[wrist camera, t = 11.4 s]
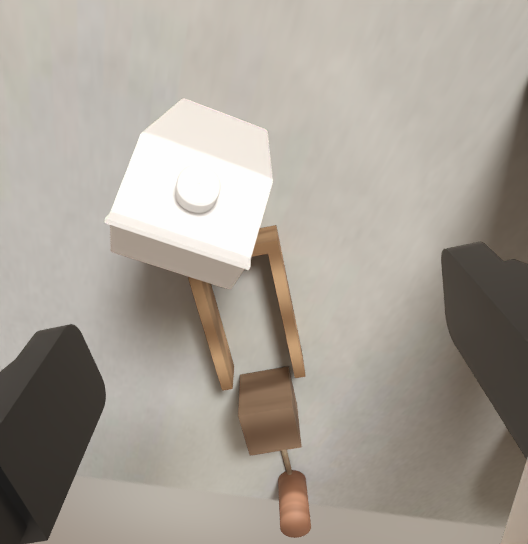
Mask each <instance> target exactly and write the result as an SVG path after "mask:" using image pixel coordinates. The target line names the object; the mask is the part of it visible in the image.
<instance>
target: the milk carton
mask: <svg viewBox="0 0 528 544" xmlns="http://www.w3.org/2000/svg"><path fill="white" fill-rule="evenodd" d="M272 183H273V177H272V167H271V158H270V149H269V139H268V131H267V130H266V129H264V128H261V127H259V126H256V125H254V124H251V123H248V122H246V121H243V120H241V119H238V118H235V117H233V116H230V115H227V114H225V113H222V112H220V111H217V110H214V109H212V108H209V107H206V106H204V105H201V104H199V103H196V102H193V101H191V100H188V99H184V98H183V99H181V100H180V101H179V102H178V103H176V104H175V105H174V106H173V107H172V108H170V109H169V110H168V111H167V112H166V113H164V114H163V115H162V116H161V117H160V118H158V119H157V120H156V121H155V122H154V123H152V124H151V125H150V126H149V127H148V128H147V129H145V130H144V131H143V132H142V133H141V135H140V137H139V140H138V142H137V145H136V147H135V150H134V153H133V155H132V158H131V160H130V163H129V166H128V168H127V171H126V173H125V176H124V178H123V181H122V184H121V186H120V189H119V191H118V194H117V197H116V199H115V202H114V204H113V207H112V209H111V212H110V213H109V214H108V216H107V217H106V218H105V220H104V222H105V223H106V224H110V236H111V252H114V253H117V254H120V255H123V256H126V257H129V258H132V259H135V260H138V261H141V262H144V263H148V264H151V265H154V266H157V267H160V268H163V269H166V270H169V271H173V272H176V273H179V274H182V275H185V276H188V277H191V278H194V279H198V280H201V281H204V282H207V283H210V284H213V285H216V286H220V287H223V288H226V289H230V290H231V289H232V287H233V286H234V284H235V283H236V281H237V280H238V278H239V276H240V275H241V273H242V272H243V270H244V269H246V270H249V269H250V267H251V256H252V252H253V249H254V245H255V242H256V239H257V235H258V232H259V228H260V225H261V221H262V218H263V214H264V211H265V207H266V204H267V200H268V197H269V193H270V190H271V186H272Z"/></svg>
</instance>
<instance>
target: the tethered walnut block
mask: <svg viewBox="0 0 528 544" xmlns="http://www.w3.org/2000/svg"><path fill="white" fill-rule="evenodd" d="M238 417H239V421H240V424H241V427H242V431H243V434H244V437H245V441H246V444H247V448H248V451H249V454H250V455H256V454H263V453H269V452H275V451H281V452H282V455H283V459H284V463H285V467H286V472H284V473H282V474H281V475H280V476H279V478H278V488H279V509H280V529H281V532H282V533H283V534H284V535H286V536H288V537H294V538H295V537H301V536H304V535H306V534H307V533H308V532H309V531H310V529H311V523H310V514H309V504H308V495H307V486H306V478H305V476H304V475H303V474H302V473H301V472H299V471H294V470H292V469H291V465H290V461H289V457H288V453H287V449H294V448H300V447H301V438H300V428H299V419H298V410H297V402H296V398H295V393H294V389H293V385H292V380H291V376H290V371H289V367H282V368H276V369H270V370H265V371H259V372H253V373H247V374H242V375H240V389H239V409H238Z"/></svg>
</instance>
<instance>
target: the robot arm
mask: <svg viewBox="0 0 528 544" xmlns="http://www.w3.org/2000/svg"><path fill="white" fill-rule="evenodd" d="M441 263H442V276H443V290H444V303H445V315H446V321H447V326H448V329H449V333H450V335H451V338H452V340H453V342H454V344H455V346H456V347H457V349H458V350H459V352H460V354H461V355H462V357H463V358H464V360H465V362H466V363H467V365H468V366H469V368H470V370H471V371H472V373H473V374H474V376H475V378H476V379H477V381H478V382H479V384H480V386H481V387H482V389H483V390H484V392H485V394H486V395H487V397H488V398H489V400H490V402H491V403H492V405H493V406H494V408H495V410H496V411H497V413H498V414H499V416H500V418H501V419H502V421H503V422H504V424H505V426H506V427H507V429H508V430H509V432H510V434H511V435H512V437H513V438H514V440H515V442H516V443H517V445H518V446H519V448H520V450H521V451H522V453H523V454H524V456H525V458H526V459H527V461H526V464H525V467H524V471H523V474H522V477H521V480H520V483H519V486H518V489H517V493H516V496H515V499H514V502H513V505H512V508H511V511H510V515H509V518H508V521H507V524H506V527H505V530H504V534H503V537H502V540H501V543H500V544H528V264H526V263H523V262H520V261H518V260H515V259H512V260H507V261H503V260H502V259H501V258H499V257H498V256H497V255H496V254H495V253H494V252H493V251H492V250H491V249H490V248H489V247H488V246H487V245H486V244H484V243H483V242H476V243H471V244H466V245H461V246H456V247H451V248H447V249H444V250H443V251H442V256H441ZM105 400H106V392H105V385H104V381H103V379H102V376H101V374H100V372H99V370H98V368H97V366H96V363H95V361H94V359H93V357H92V355H91V353H90V350H89V348H88V346H87V344H86V342H85V340H84V338H83V335H82V333H81V332H80V330H79V329H78V328H77V327H76V326H75V325H72V324H70V325H65V326H60V327H55V328H50V329H45V330H41V331H38V332H36V333H35V334H34V336H33V337H32V338H31V339H30V341H29V342H28V343H27V345H26V346H25V347H24V349H23V350H22V351H21V353H20V354H19V355H18V357H17V358H16V359H15V360H14V361H13V362H12V363H10V364H9V365H8V366H7V367H6V368H4V369H3V370H2V371H1V372H0V544H27V543H34V542H40V541H46V540H48V538H49V536H50V533H51V531H52V529H53V526H54V524H55V522H56V519H57V517H58V515H59V512H60V510H61V507H62V505H63V503H64V500H65V498H66V496H67V493H68V491H69V489H70V486H71V484H72V481H73V479H74V477H75V475H76V472H77V470H78V467H79V465H80V463H81V460H82V458H83V456H84V453H85V451H86V449H87V446H88V444H89V442H90V439H91V437H92V434H93V432H94V430H95V427H96V425H97V423H98V420H99V418H100V416H101V413H102V411H103V408H104V405H105Z"/></svg>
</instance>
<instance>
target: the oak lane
mask: <svg viewBox="0 0 528 544" xmlns="http://www.w3.org/2000/svg"><path fill="white" fill-rule="evenodd" d="M263 254H268V256H269V261H270V265H271V270H272V274H273V279H274V284H275V288H276V293H277V297H278V302H279V307H280V311H281V316H282V320H283V325H284V330H285V334H286V339H287V344H288V348H289V353H290V357H291V362H292V367H293V371H294V376H295V378H299V377H305V369H304V362H303V355H302V350H301V345H300V340H299V335H298V330H297V325H296V320H295V315H294V310H293V305H292V301H291V296H290V291H289V286H288V281H287V276H286V271H285V266H284V261H283V256H282V251H281V246H280V242H279V237H278V232H277V227H276V225H275V226H270V227H264V228H259V232H258V235H257V239H256V242H255V245H254V249H253V252H252V256H251V257H253V256H258V255H263ZM188 279H189V282H190V286H191V289H192V292H193V296H194V299H195V302H196V305H197V309H198V312H199V315H200V319H201V322H202V325H203V329H204V332H205V335H206V339H207V342H208V345H209V348H210V352H211V355H212V358H213V362H214V365H215V368H216V372H217V375H218V378H219V381H220V385H221V388H222V391H223V390H228V389H233V375H234V364H233V360H232V357H231V353H230V350H229V346H228V343H227V339H226V336H225V332H224V328H223V325H222V321H221V318H220V314H219V311H218V307H217V304H216V300H215V296H214V293H213V289H212V286H211V284H210V283H207V282H204V281H201V280H198V279H194V278H191V277H188Z"/></svg>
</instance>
